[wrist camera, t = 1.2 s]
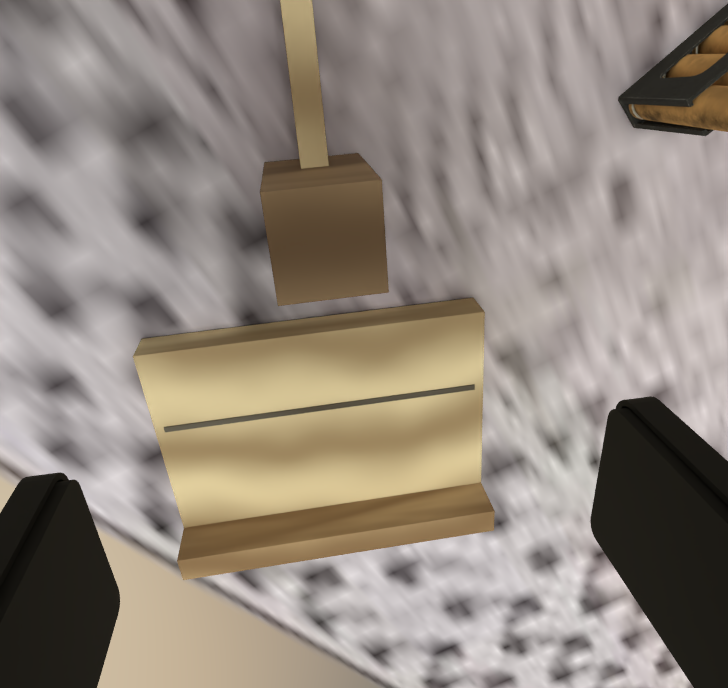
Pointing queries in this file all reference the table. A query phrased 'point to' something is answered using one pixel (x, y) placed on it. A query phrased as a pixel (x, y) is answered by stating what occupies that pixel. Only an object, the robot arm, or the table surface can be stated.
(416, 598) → the table surface
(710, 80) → the ammunition clip
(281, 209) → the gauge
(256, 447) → the board
